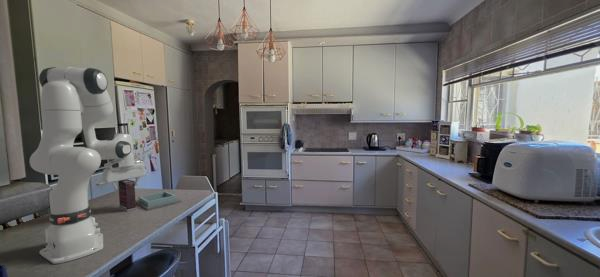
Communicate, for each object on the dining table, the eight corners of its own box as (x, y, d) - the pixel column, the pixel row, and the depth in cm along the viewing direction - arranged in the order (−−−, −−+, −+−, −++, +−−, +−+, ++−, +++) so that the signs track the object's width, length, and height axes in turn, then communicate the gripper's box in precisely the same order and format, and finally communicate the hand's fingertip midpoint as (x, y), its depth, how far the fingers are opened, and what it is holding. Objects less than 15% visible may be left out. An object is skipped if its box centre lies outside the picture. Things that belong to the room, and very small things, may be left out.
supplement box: (136, 208, 142) (134, 180, 141) (127, 211, 138) (124, 182, 137) (129, 206, 146) (127, 178, 145) (119, 208, 142) (117, 180, 141)
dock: (181, 202, 152) (180, 196, 152) (147, 210, 139) (147, 203, 138) (166, 195, 167) (165, 189, 166) (134, 202, 153) (134, 196, 153)
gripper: (141, 159, 151) (143, 182, 152) (100, 165, 133) (102, 191, 134) (147, 160, 147) (149, 183, 148) (105, 166, 130) (107, 192, 131)
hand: (126, 187), depth 141 cm, fingers open, 8 cm apart
